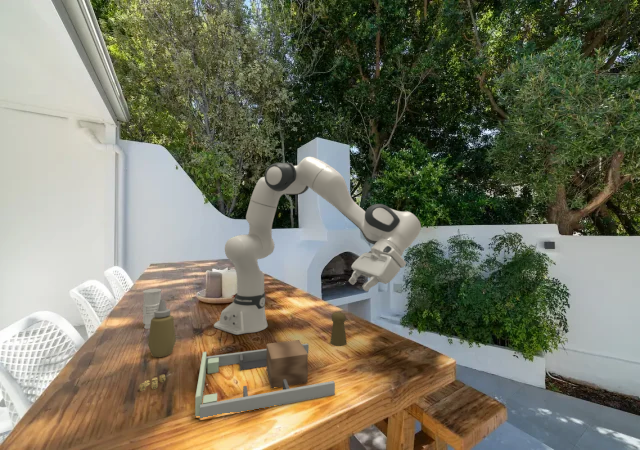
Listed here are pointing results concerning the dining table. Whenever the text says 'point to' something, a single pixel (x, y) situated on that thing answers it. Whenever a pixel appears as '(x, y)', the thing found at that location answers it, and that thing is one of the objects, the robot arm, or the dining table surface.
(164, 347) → the squeeze bottle
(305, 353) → the walnut block
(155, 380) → the dice set
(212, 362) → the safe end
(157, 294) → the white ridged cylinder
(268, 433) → the dining table surface
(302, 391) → the grey u-shaped frame
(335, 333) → the olive pawn
